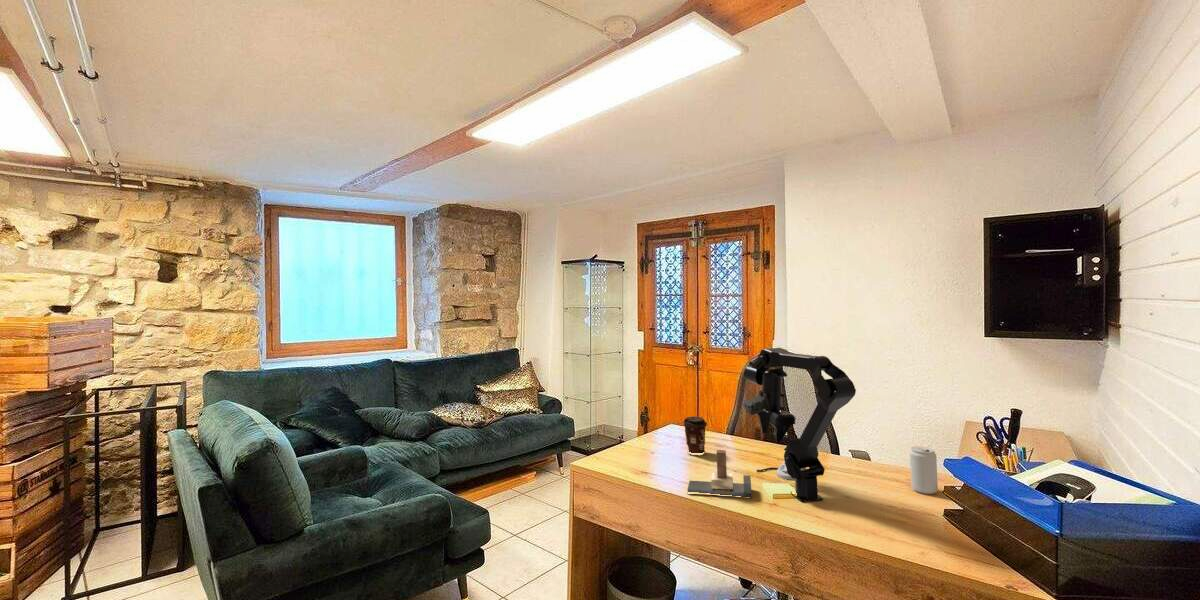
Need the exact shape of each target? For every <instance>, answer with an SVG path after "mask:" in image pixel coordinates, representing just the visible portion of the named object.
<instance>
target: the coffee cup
mask: <svg viewBox="0 0 1200 600" xmlns="http://www.w3.org/2000/svg"><path fill="white" fill-rule="evenodd" d="M683 426H684V432H685V443H686V445H687V448H688V450H689V452H691V453H703V452H705V453H706V450H705V445H706V427H707V426H708V424H707V422H706V420H705V419H704V418H703V417H701V416H694V415H693V416H687V417H685V418H684V421H683Z"/></svg>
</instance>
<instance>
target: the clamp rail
mask: <svg viewBox="0 0 1200 600" xmlns="http://www.w3.org/2000/svg"><path fill="white" fill-rule="evenodd" d="M751 479H752V478H751V475H745V474H744V475H743V483H740V482H739V483H737V482H733V490H731V489H714V488H712V484H711V481H703V480H689V481H688V485H687V493H688V492H699V493H710V494H720V495H732V496H741V497H750V498H749V499H753V498H752V480H751Z"/></svg>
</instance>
